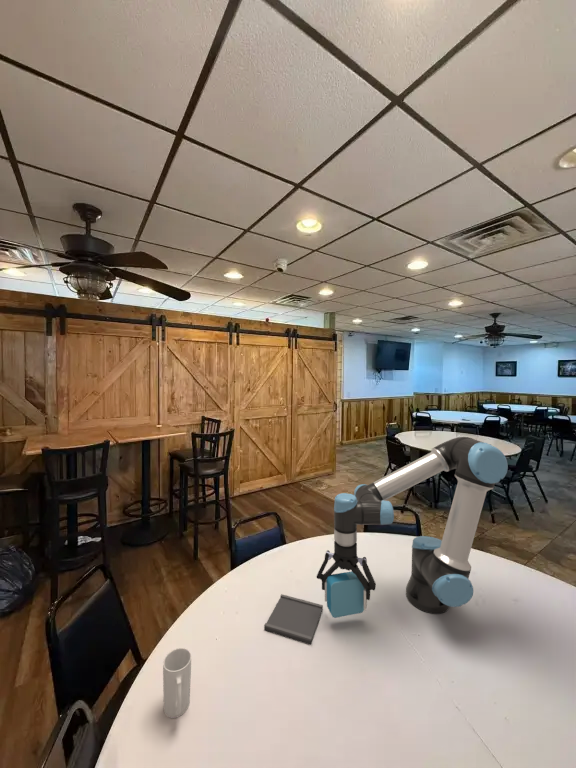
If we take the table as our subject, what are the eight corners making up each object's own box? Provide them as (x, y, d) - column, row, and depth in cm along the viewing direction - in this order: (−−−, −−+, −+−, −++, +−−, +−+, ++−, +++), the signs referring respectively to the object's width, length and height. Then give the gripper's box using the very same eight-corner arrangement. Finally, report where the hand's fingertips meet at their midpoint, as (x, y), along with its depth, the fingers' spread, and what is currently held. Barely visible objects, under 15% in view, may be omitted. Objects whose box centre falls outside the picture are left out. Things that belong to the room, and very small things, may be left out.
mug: (162, 697, 83) (162, 652, 83) (189, 688, 86) (189, 644, 85) (163, 738, 74) (164, 687, 73) (193, 726, 76) (194, 677, 76)
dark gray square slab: (322, 610, 115) (322, 605, 115) (311, 645, 100) (311, 639, 100) (281, 598, 121) (281, 594, 121) (264, 630, 106) (264, 625, 106)
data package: (359, 603, 112) (359, 569, 112) (364, 612, 108) (364, 577, 108) (326, 609, 110) (326, 574, 109) (331, 619, 105) (331, 583, 105)
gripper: (383, 541, 108) (383, 604, 108) (313, 530, 116) (313, 588, 116) (382, 553, 100) (382, 620, 101) (307, 540, 109) (307, 602, 109)
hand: (345, 603), depth 109 cm, fingers closed on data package, 12 cm apart
